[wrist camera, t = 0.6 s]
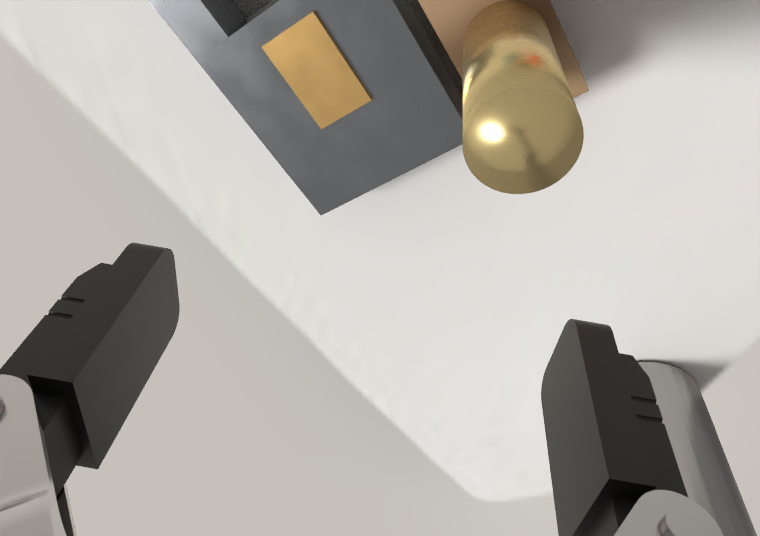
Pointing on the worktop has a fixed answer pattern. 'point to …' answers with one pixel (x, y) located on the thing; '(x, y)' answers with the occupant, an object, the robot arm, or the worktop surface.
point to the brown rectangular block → (462, 3)
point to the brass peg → (516, 102)
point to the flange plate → (328, 86)
